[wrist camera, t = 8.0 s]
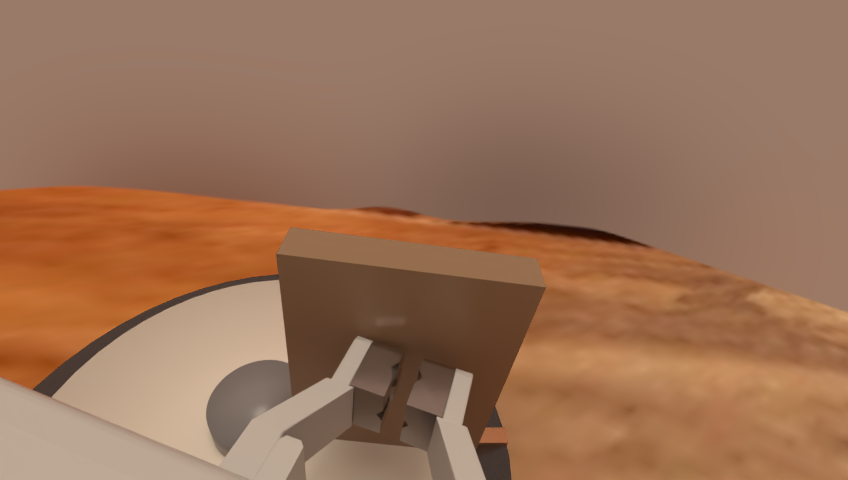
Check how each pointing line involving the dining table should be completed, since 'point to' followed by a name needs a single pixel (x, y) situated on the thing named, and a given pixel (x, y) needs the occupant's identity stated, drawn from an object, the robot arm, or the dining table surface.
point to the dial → (316, 347)
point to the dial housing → (494, 436)
